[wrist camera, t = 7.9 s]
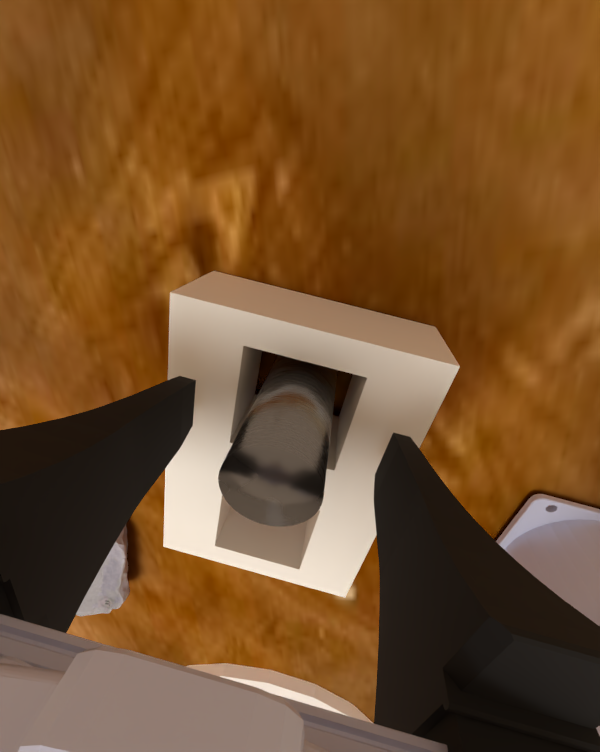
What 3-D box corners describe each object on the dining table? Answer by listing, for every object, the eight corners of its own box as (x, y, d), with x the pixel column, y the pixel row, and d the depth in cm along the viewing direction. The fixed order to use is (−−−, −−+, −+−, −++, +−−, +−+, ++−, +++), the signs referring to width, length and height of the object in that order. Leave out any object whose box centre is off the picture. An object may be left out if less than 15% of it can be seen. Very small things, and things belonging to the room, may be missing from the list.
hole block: (435, 326, 15) (460, 366, 11) (347, 532, 21) (345, 597, 18) (213, 270, 15) (169, 292, 12) (194, 490, 22) (163, 546, 18)
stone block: (126, 455, 24) (-19, 463, 24) (94, 512, 20) (-83, 523, 20) (163, 558, 30) (47, 565, 30) (144, 618, 26) (8, 628, 25)
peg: (346, 347, 16) (337, 466, 9) (327, 399, 17) (307, 537, 10) (284, 329, 16) (226, 432, 9) (271, 382, 17) (212, 508, 10)
